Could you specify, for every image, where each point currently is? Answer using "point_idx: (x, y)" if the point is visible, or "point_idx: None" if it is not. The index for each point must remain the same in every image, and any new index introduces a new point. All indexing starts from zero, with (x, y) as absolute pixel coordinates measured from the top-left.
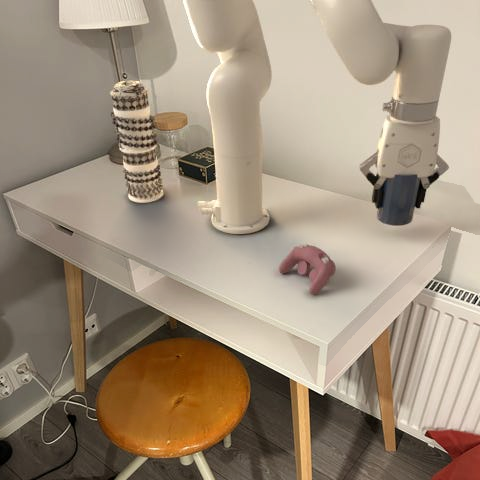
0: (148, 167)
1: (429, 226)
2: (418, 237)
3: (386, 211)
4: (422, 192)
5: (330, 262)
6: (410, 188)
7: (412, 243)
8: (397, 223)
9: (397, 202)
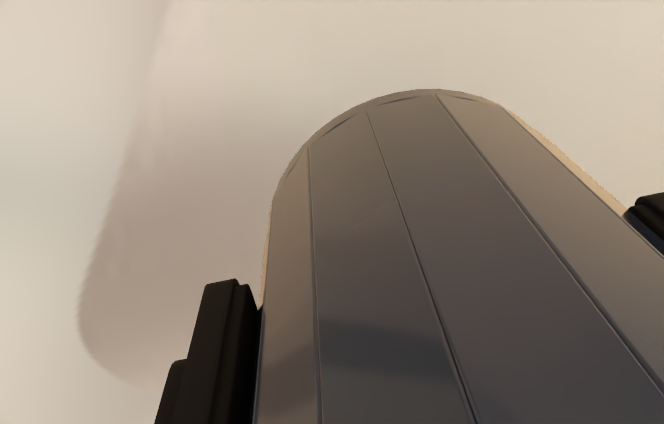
0: None
1: (159, 329)
2: (210, 187)
3: (562, 157)
4: (183, 422)
5: None
6: (401, 370)
7: (243, 97)
8: (403, 98)
9: (513, 187)
